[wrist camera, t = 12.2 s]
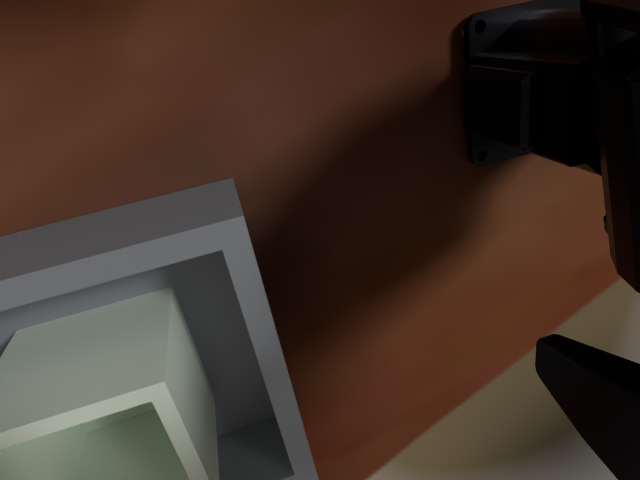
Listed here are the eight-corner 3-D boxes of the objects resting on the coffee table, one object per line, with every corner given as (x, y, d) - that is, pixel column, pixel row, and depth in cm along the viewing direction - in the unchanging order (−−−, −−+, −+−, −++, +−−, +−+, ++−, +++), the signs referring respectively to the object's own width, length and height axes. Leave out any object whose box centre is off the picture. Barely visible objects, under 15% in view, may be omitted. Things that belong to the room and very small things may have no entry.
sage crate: (172, 286, 19) (164, 381, 14) (214, 393, 22) (220, 505, 17) (16, 330, 18) (-55, 449, 13) (81, 436, 21) (44, 568, 16)
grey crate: (232, 177, 19) (243, 215, 15) (299, 410, 25) (319, 481, 21) (-133, 270, 17) (-232, 343, 13) (39, 498, 23) (7, 594, 19)
